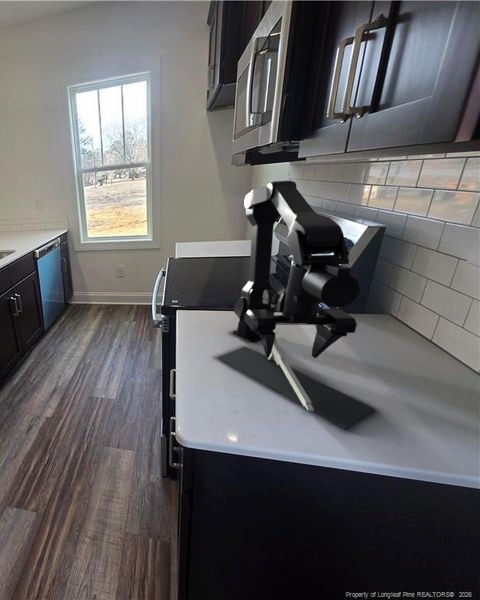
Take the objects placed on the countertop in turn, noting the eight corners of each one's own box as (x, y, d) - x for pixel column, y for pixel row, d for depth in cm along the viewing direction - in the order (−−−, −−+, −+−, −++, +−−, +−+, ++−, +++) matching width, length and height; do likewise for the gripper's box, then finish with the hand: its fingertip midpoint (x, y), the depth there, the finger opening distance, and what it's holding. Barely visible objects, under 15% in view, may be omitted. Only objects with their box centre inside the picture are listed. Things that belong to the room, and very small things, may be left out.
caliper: (264, 355, 79) (268, 333, 77) (269, 355, 79) (273, 333, 77) (307, 412, 60) (314, 384, 58) (313, 412, 60) (321, 384, 58)
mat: (244, 347, 84) (245, 346, 84) (374, 410, 60) (375, 408, 60) (217, 358, 80) (217, 357, 80) (344, 430, 56) (345, 428, 56)
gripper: (331, 275, 68) (316, 339, 74) (240, 276, 71) (232, 338, 77) (368, 292, 58) (347, 365, 64) (259, 294, 61) (249, 363, 66)
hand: (290, 356), depth 68 cm, fingers open, 9 cm apart
